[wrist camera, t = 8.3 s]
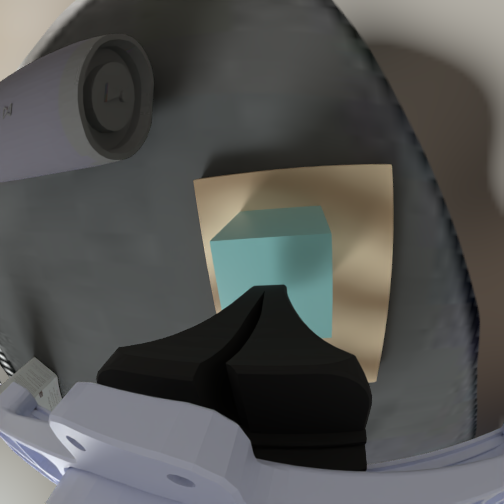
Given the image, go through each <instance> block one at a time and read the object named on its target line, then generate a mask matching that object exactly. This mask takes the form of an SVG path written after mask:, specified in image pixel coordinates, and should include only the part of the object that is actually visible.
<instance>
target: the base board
mask: <svg viewBox="0 0 504 504" xmlns="http://www.w3.org/2000/svg"><path fill="white" fill-rule="evenodd" d="M193 181H194V188H195V194H196V201H197V208H198V214H199V220H200V226H201V232H202V238H203V244H204V250H205V256H206V261H207V267H208V272H209V278H210V283H211V288H212V293H213V299H214V304H215V309H216V314H217V313H219V312H220V311H221V310H222V309H221V304H220V298H219V293H218V287H217V282H216V276H215V271H214V265H213V259H212V253H211V247H210V240H211V239H212V238H213V237H214V236H215V235H216V234H218V233H219V232H220V231H221V230H222V229H223V228H224V227H225V226H226V225H227V224H228V223H229V222H230V221H231V220H232V219H233V218H234V217H235V216H236V215H237V214H238V213H239V212H240V211H252V210H264V209H277V208H291V207H305V206H321V207H322V210H323V213H324V215H325V218H326V220H327V223H328V225H329V228H330V231H331V233H332V271H333V303H332V338H322V339H323V340H324V341H326V342H328V343H329V344H331V345H333V346H335V347H337V348H339V349H341V350H344V351H346V352H349V353H351V354H353V355H355V356H356V358H357V359H358V361H359V363H360V365H361V367H362V369H363V371H364V373H365V375H366V378H367V380H368V383H369V382H376V379H377V374H378V369H379V364H380V359H381V353H382V347H383V341H384V335H385V328H386V321H387V313H388V304H389V295H390V284H391V271H392V254H393V176H392V165H390V164H354V165H330V166H313V167H298V168H286V169H274V170H264V171H254V172H245V173H237V174H229V175H221V176H213V177H206V178H200V179H196V180H193Z"/></svg>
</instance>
